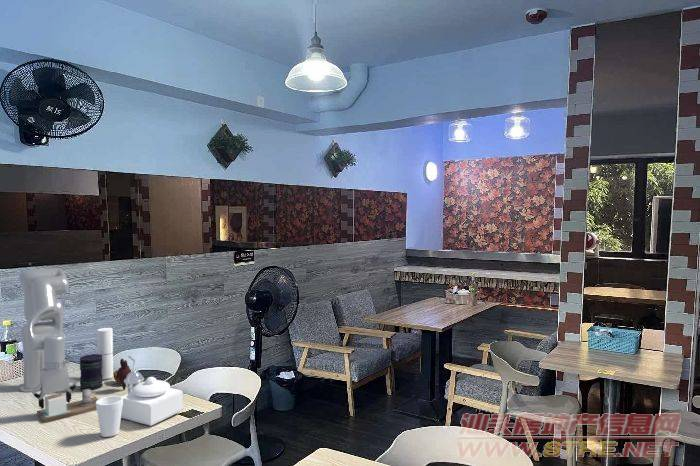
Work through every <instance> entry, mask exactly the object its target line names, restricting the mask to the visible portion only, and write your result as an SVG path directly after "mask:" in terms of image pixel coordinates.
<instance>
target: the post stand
mask: <svg viewBox="0 0 700 466" xmlns="http://www.w3.org/2000/svg"><path fill="white" fill-rule="evenodd" d="M81 391H82V392H81V393H82V394H81V395H82V396H81V397H82V400H77V401H73V402H69V403H68V402H67V403H66V412H62V413H58V414H54V415H50V416H49V415H48V414H47V413H46V412H45V408H43V409H40V410H36V415H37V416H38V417H39V419H40V420H41V421H42V422H43V424H48V423H51V422H52V423H53V422H55V421H59V420H62V419H66V418H71V417H74V416H78V415H82V414H86V413H89V412H94V411H97V410H96V401H97V400H98V399H99V398H98V397H96V396H93V397H91V396H92V395H91V391H92V390H90V389H85V390H81Z"/></svg>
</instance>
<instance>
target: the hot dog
mask: <svg viewBox="0 0 700 466" xmlns="http://www.w3.org/2000/svg"><path fill="white" fill-rule="evenodd" d="M117 371H118V369H117V370H115V371H113V379H114V381H115V382H116V383H117V384H119V385H121V383H120V380H119V379H117V378H116V376H117ZM121 386H122V385H121Z"/></svg>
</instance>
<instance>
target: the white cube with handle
mask: <svg viewBox="0 0 700 466" xmlns="http://www.w3.org/2000/svg"><path fill="white" fill-rule="evenodd" d="M66 404H67V401H66V395H64V394H63V393H57V394H53V395H49V396H48V395H47V396H44V409H45V412H46V413H47V414H48V415H49V416H50V415H54V414H58V413H62V412H66Z"/></svg>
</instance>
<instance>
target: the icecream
mask: <svg viewBox="0 0 700 466" xmlns="http://www.w3.org/2000/svg"><path fill="white" fill-rule="evenodd" d="M119 363H120V367H119V368H118V369H117V370H118V371H117V370H116V371H117V376H116V378H117V379H119V380H120V383H121V387H122V390H123V391H125V390H126V389H127V387H126V383H124V379H126V377H127V375H128V374H129V373H130V372H132V370H131V368H130V366H129V365H128V361H127V360H125V359H124V358H121V359H120V362H119Z"/></svg>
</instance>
